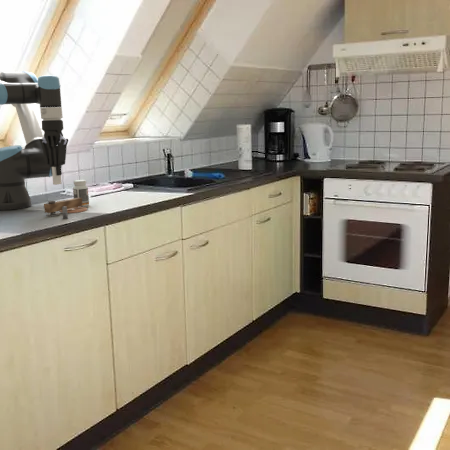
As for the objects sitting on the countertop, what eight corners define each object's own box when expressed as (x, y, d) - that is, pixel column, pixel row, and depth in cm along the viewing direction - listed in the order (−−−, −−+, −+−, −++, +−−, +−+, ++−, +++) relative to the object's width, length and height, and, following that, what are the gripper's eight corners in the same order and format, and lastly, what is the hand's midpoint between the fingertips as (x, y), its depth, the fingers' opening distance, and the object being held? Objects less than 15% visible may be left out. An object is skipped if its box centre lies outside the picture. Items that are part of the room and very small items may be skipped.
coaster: (54, 211, 217) (53, 210, 217) (74, 207, 225) (74, 206, 225) (73, 213, 212) (73, 212, 211) (93, 209, 220) (93, 208, 220)
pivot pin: (43, 215, 209) (43, 212, 209) (53, 213, 213) (53, 210, 213) (52, 216, 207) (52, 213, 207) (61, 214, 211) (61, 211, 210)
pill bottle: (90, 204, 231) (88, 179, 229) (87, 206, 226) (85, 181, 224) (75, 204, 231) (74, 179, 229) (72, 207, 225) (70, 181, 223)
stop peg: (61, 218, 203) (61, 207, 202) (65, 217, 204) (64, 206, 203) (65, 219, 202) (64, 207, 201) (68, 218, 203) (67, 206, 203)
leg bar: (49, 212, 207) (48, 202, 206) (44, 212, 208) (43, 202, 208) (82, 205, 220) (81, 196, 219) (78, 205, 222) (77, 195, 221)
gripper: (31, 120, 213) (37, 184, 217) (56, 119, 206) (62, 186, 211) (47, 119, 219) (53, 182, 224) (72, 118, 212) (77, 183, 217)
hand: (57, 184), depth 217 cm, fingers closed
